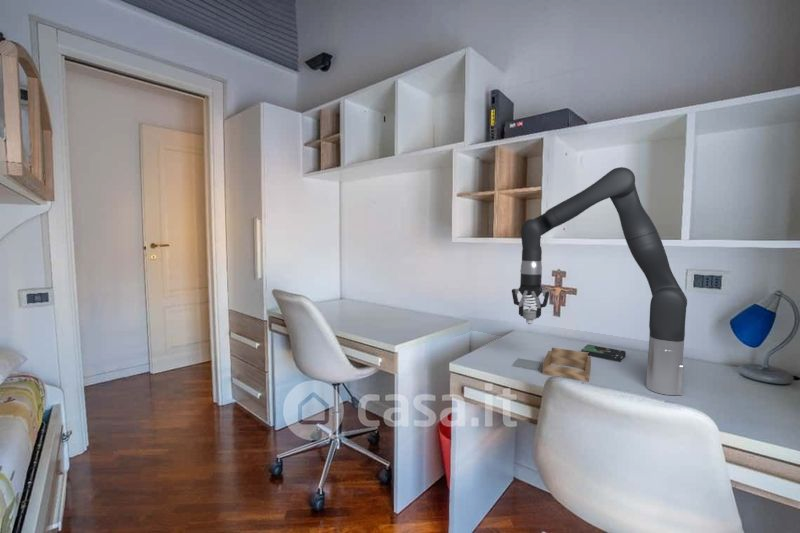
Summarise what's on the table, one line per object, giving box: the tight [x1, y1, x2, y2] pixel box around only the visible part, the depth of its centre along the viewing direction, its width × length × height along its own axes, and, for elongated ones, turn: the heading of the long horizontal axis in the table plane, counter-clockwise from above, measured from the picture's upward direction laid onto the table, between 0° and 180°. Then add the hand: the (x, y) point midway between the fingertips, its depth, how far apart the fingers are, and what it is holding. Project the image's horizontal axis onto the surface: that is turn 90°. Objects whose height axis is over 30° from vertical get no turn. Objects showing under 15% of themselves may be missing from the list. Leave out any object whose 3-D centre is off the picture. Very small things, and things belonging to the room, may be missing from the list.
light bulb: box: [522, 294, 539, 325], centre depth 146 cm, size 6×6×12 cm
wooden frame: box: [541, 347, 592, 383], centre depth 141 cm, size 15×15×6 cm
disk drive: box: [580, 344, 627, 363], centre depth 160 cm, size 10×3×15 cm
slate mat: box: [512, 357, 543, 371], centre depth 148 cm, size 9×9×1 cm
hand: (529, 316), depth 146 cm, fingers closed on light bulb, 5 cm apart
